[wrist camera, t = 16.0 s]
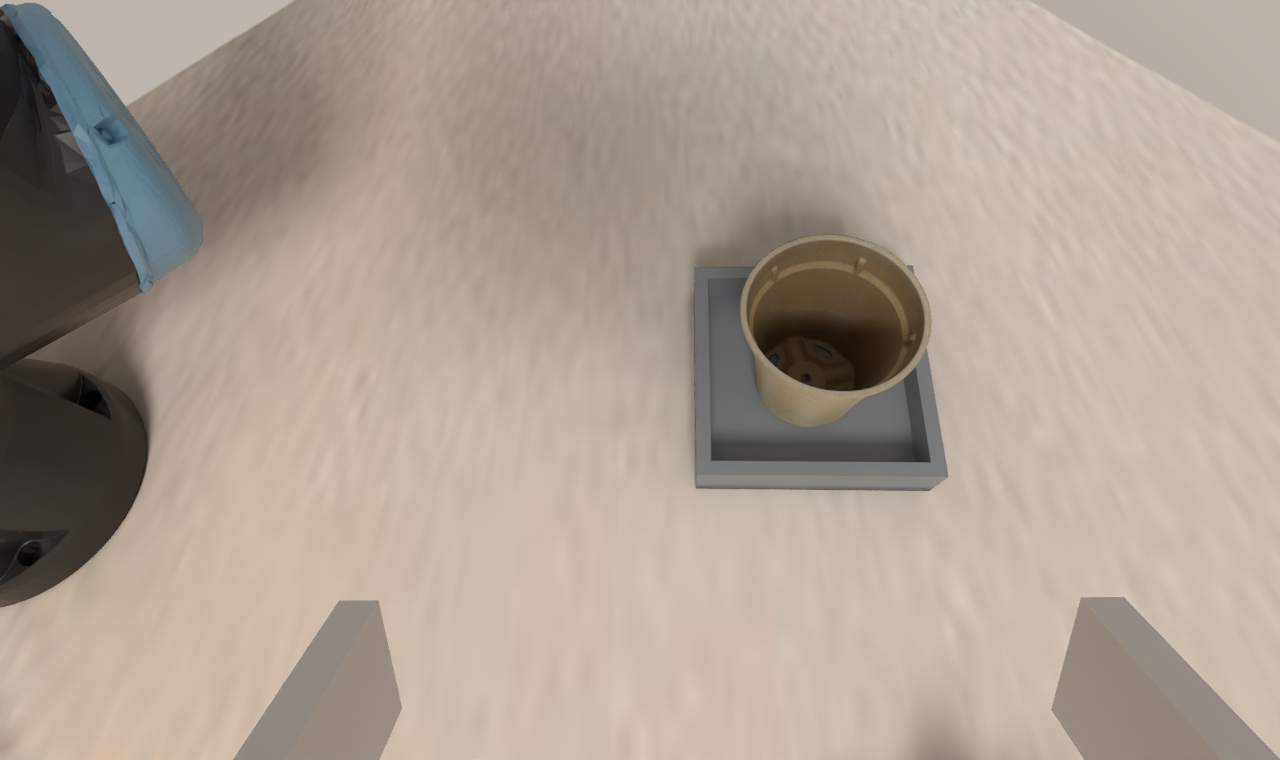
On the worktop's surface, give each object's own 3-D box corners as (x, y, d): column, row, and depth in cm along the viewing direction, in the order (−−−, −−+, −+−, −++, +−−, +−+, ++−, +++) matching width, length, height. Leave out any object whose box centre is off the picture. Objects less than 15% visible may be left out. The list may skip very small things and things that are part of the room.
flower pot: (735, 306, 43) (748, 225, 36) (883, 322, 42) (930, 241, 34) (721, 442, 40) (731, 384, 32) (882, 462, 39) (934, 408, 31)
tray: (695, 488, 39) (697, 474, 37) (693, 292, 45) (694, 267, 42) (929, 490, 39) (948, 476, 36) (898, 290, 44) (912, 265, 41)
